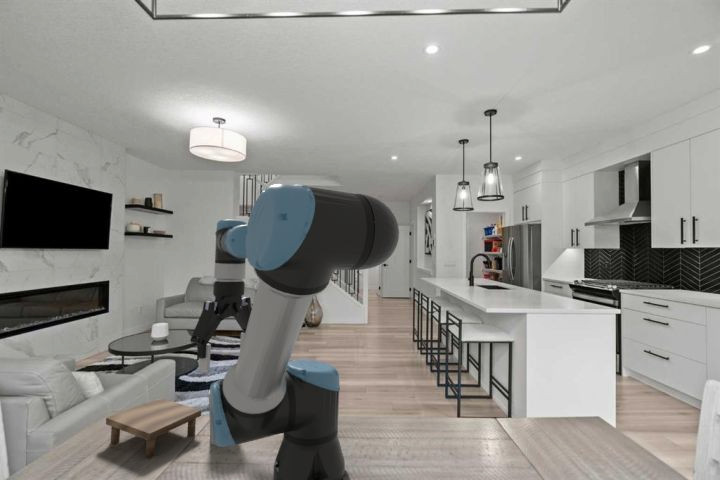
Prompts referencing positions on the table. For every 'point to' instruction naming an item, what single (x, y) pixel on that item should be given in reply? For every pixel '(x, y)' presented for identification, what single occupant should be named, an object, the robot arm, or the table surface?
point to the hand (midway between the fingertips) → (225, 364)
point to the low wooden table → (153, 421)
